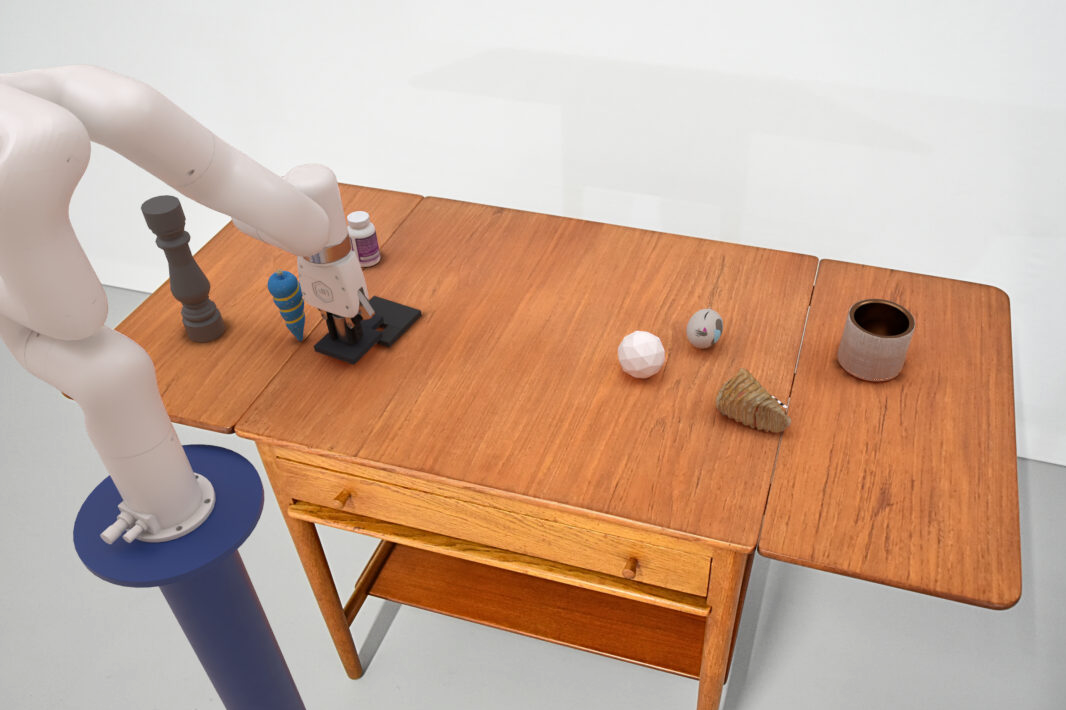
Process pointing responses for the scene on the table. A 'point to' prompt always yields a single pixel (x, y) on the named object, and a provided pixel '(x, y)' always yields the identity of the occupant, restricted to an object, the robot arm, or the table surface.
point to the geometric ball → (641, 354)
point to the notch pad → (393, 319)
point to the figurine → (704, 328)
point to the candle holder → (183, 269)
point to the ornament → (288, 300)
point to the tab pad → (357, 348)
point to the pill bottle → (363, 238)
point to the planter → (876, 339)
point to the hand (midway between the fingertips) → (347, 337)
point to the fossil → (751, 403)
